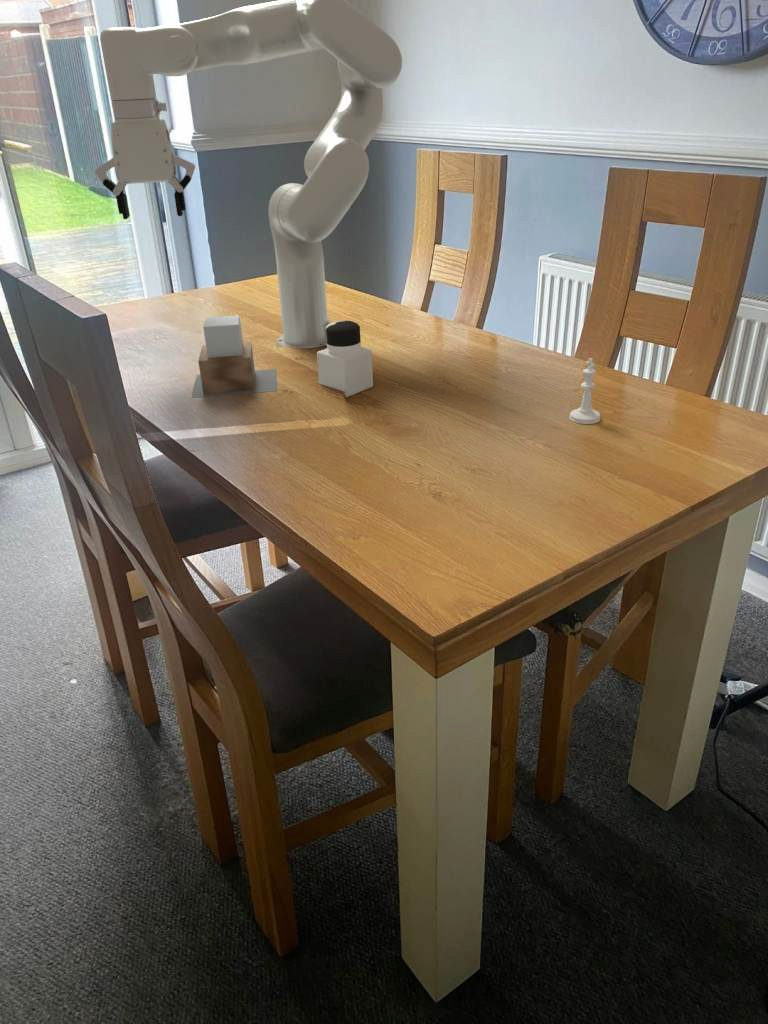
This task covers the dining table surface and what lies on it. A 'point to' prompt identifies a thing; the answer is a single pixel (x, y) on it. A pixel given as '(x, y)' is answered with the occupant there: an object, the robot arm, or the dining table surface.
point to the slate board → (263, 383)
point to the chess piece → (586, 399)
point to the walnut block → (227, 371)
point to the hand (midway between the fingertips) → (153, 216)
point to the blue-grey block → (223, 336)
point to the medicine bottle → (345, 359)
